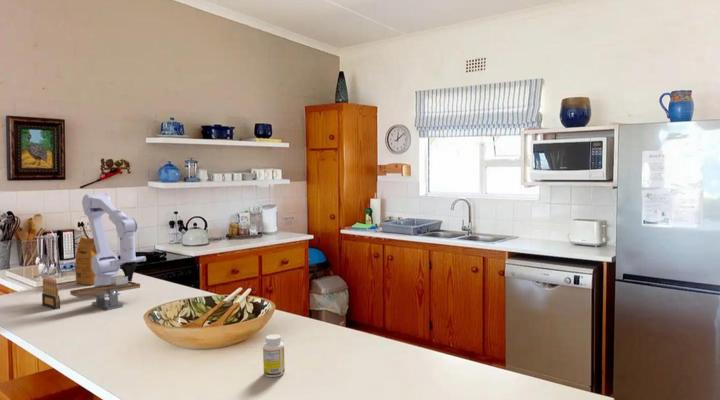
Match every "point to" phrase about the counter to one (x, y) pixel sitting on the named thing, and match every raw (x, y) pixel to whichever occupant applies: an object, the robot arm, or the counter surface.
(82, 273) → the coffee package
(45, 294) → the ammunition clip
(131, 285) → the wooden tray
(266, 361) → the supplement bottle
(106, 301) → the stand
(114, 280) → the block
